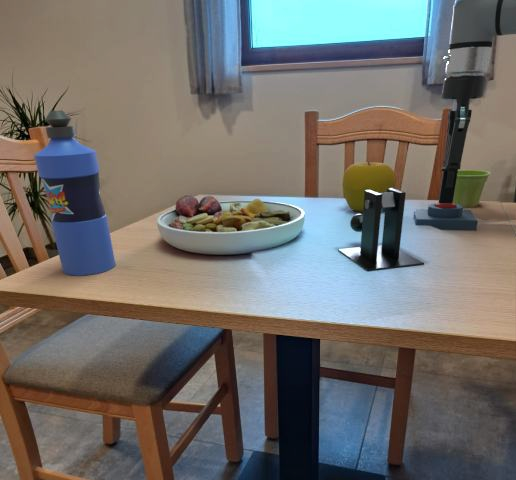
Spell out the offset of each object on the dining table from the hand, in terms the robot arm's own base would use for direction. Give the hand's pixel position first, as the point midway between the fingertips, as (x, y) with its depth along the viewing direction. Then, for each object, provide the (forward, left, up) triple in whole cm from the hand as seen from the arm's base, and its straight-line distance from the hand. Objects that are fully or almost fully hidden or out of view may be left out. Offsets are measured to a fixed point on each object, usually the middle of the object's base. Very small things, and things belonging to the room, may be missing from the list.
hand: (445, 202), depth 99 cm
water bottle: (+63, +39, -5) cm, 74 cm away
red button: (0, 0, -2) cm, 2 cm away
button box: (0, 0, -5) cm, 5 cm away
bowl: (+43, +17, -5) cm, 46 cm away
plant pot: (-6, -16, -5) cm, 18 cm away
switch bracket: (+13, +29, -5) cm, 32 cm away
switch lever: (+15, +26, +1) cm, 30 cm away
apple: (+17, -14, -5) cm, 22 cm away
